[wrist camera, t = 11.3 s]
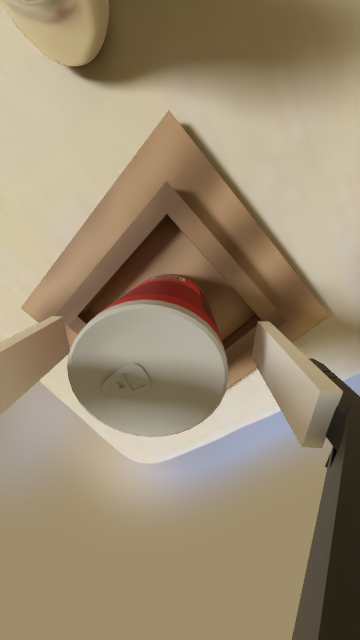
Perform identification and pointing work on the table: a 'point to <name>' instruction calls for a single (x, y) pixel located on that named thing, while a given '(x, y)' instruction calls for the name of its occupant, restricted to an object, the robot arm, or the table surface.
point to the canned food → (151, 360)
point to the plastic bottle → (62, 27)
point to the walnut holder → (178, 251)
